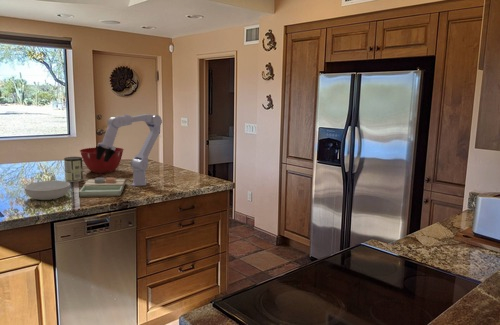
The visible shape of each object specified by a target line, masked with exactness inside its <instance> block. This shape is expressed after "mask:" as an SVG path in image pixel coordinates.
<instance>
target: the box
mask: <svg viewBox="0 0 500 325" xmlns="http://www.w3.org/2000/svg"><path fill="white" fill-rule="evenodd" d="M123 191H124V188H123V186H82V187H81V188H80V190H79V191H78V197H79V198H80V197H81V198H82V197H86V198H87V197H119V196H120V197H121V196H122V193H123Z"/></svg>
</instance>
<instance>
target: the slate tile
mask: <svg viewBox="0 0 500 325" xmlns="http://www.w3.org/2000/svg"><path fill="white" fill-rule="evenodd" d="M94 179H95V183H104V182H105V179H106V177H95V178H94Z"/></svg>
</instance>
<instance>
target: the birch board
mask: <svg viewBox="0 0 500 325" xmlns="http://www.w3.org/2000/svg"><path fill="white" fill-rule="evenodd" d="M125 185H126V178H116V181H115V183H106V178H105V182H104V183H95V178H88V179H87V181H86V182H85V183H84V184H83V186H123V189H124V188H125ZM83 186H82V187H83Z"/></svg>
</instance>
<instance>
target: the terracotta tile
mask: <svg viewBox="0 0 500 325" xmlns="http://www.w3.org/2000/svg"><path fill="white" fill-rule="evenodd" d="M105 179H106V183H115V181H116V179H117V178H116V177H105Z"/></svg>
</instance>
